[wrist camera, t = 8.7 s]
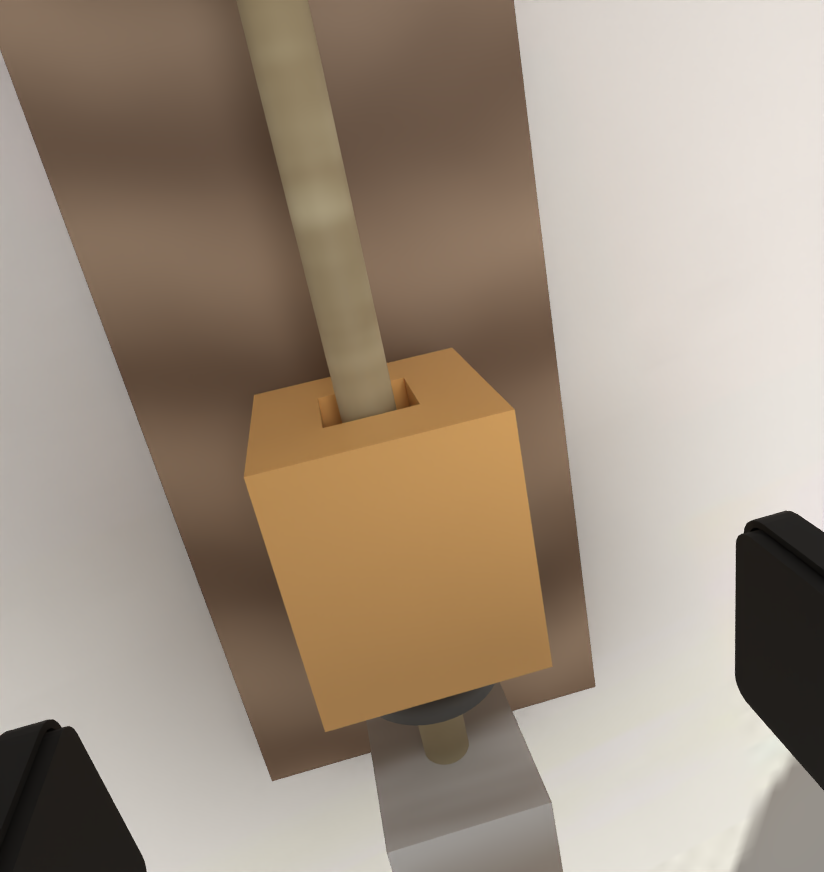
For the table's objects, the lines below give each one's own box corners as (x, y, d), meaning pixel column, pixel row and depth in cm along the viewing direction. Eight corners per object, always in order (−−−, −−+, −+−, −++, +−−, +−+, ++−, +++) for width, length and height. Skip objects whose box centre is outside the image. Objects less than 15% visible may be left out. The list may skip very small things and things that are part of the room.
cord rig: (-83, -214, 15) (-508, -670, 7) (463, -296, 16) (645, -770, 8) (272, 759, 25) (268, 1023, 17) (584, 668, 26) (714, 878, 18)
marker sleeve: (253, 395, 17) (243, 477, 12) (452, 347, 17) (514, 409, 13) (314, 597, 19) (325, 732, 14) (488, 550, 19) (552, 666, 15)
